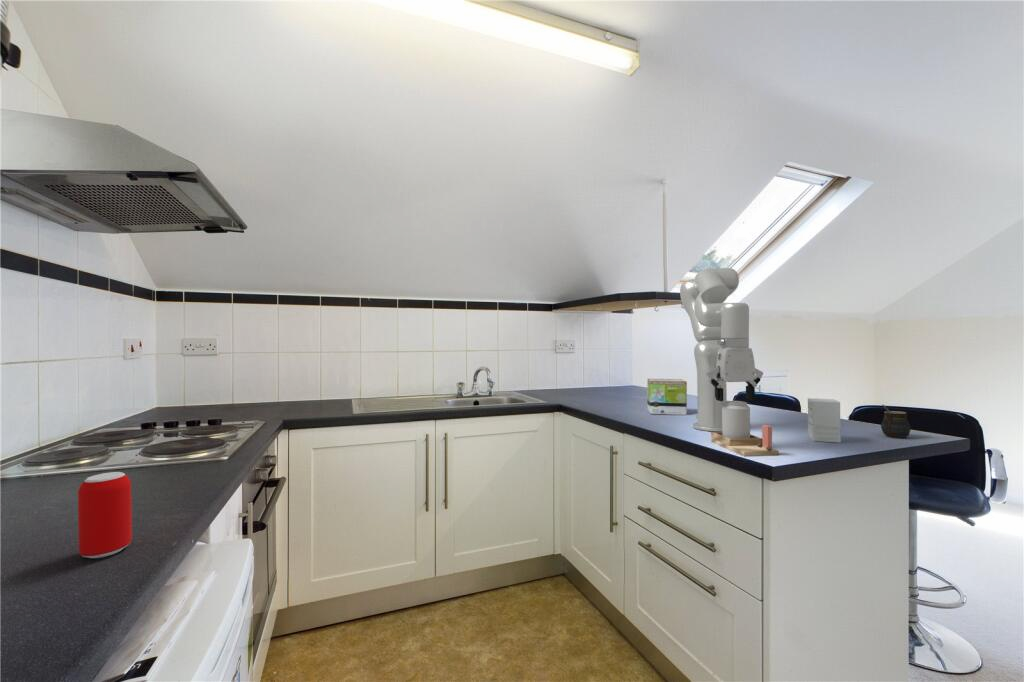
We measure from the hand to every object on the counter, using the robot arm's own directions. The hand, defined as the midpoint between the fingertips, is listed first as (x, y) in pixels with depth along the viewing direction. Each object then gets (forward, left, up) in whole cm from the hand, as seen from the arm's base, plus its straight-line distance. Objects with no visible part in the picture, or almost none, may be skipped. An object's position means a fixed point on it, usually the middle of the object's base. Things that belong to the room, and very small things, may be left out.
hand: (734, 400), depth 133 cm
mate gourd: (-4, +56, -14) cm, 58 cm away
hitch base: (+4, 0, -14) cm, 14 cm away
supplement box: (-3, +31, -14) cm, 34 cm away
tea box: (-58, +4, -14) cm, 60 cm away
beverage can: (+54, -136, -14) cm, 147 cm away
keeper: (+11, +2, -9) cm, 14 cm away
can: (+1, 0, -13) cm, 13 cm away
